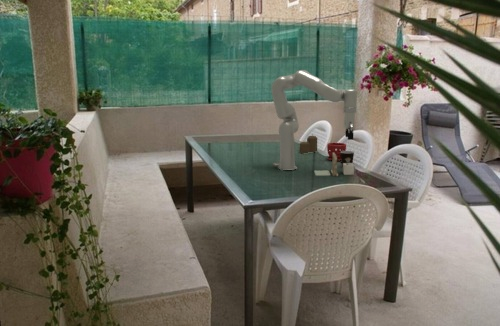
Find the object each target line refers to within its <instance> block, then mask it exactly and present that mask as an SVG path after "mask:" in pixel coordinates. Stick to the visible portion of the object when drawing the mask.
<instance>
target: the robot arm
mask: <svg viewBox="0 0 500 326" xmlns="http://www.w3.org/2000/svg"><path fill="white" fill-rule="evenodd" d="M300 86H302V87H303V88H306V89H308V90H309V91H312V92H314V93H315V94H317V95H318V96H320V97H322V98H324V99H326V100H328V101H329V102H331V103H339V102H343V113H344V119H343V120H344V122H343V127H344V129H345V134H344V135H345V137H346V138H347V140H354V129H355V114H356V113H357V104H358V103H357V101H358V100H357V97H358V96H357V94H358V92H357V90H356V89H353V88H349V89H348V88H347V89H343V88H334V87H332V86H329V85H328V84H326V83H325V82H324V81H323V80H322V79H321V78H319V77H317V76H316V75H313V74H311V73H310V72H309V71H308V70H306V69H300V70H297V71H295V73H292V74H288V75H281V76H278V77H277V78H276V79H275V80H274V81H273V82H272V84H271V88H270V91H271V96H272V100H273V104H274V109H275V113H276V115H277V118H278V119H280V120H283V122H281V123H280V124H279V126H278V135H279V136H278V137H279V162H273V163H272V164H273V166H275V167H277V169H278V168H279V169H283V170H292V171H295V170H294V169H296V170H297V169H298V167H297V166H296V164H295V161H296V157H295V156H296V154H295V153H296V150H295V149H296V148H295V145H296V144H295V142H296V140H295V135H294V134H296V133H297V132H298V130H299V126H300V125H299V121H298V116H297V113H296V110H295V107H294V106H293V104H291V103H288V99H287V95H286V93H285V90H290V89H291V90H292V89H293V88H296V87H300ZM279 169H278V170H279ZM283 170H282V171H283Z"/></svg>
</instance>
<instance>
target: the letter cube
mask: <svg viewBox="0 0 500 326" xmlns="http://www.w3.org/2000/svg"><path fill="white" fill-rule="evenodd" d="M342 174H343V175H344V176H347V175H349V176H352V175H353V176H354V175H355V163H354V162H353V163H343V167H342Z"/></svg>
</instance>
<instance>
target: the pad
mask: <svg viewBox="0 0 500 326" xmlns="http://www.w3.org/2000/svg"><path fill="white" fill-rule="evenodd" d="M313 172H314V175H315V177H319V176H321V177H323V176H324V177H325V176H326V177H329V176H331V173H330V171H329V170H314V171H313Z"/></svg>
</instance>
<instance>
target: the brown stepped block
mask: <svg viewBox="0 0 500 326" xmlns="http://www.w3.org/2000/svg"><path fill="white" fill-rule="evenodd" d="M315 151H317V152H318V137H317V136H316V135H313V133H311V135H308V136H307V138H306V141H302V142H300V143H299V153H300V152H301V153H308V152H315Z"/></svg>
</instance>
